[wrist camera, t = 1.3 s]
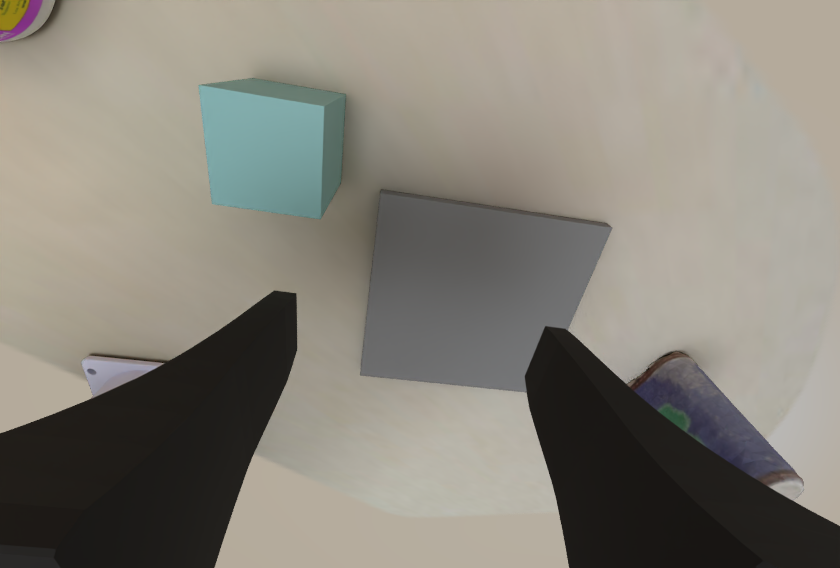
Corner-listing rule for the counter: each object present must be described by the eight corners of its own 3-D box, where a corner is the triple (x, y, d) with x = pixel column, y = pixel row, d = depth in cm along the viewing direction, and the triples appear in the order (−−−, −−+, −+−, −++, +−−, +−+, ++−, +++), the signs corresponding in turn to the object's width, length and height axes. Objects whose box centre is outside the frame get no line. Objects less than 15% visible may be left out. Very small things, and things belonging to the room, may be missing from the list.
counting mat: (537, 387, 26) (539, 393, 26) (361, 368, 25) (360, 375, 25) (607, 223, 20) (612, 227, 20) (381, 189, 19) (380, 193, 19)
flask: (673, 344, 25) (829, 516, 16) (701, 362, 26) (866, 535, 16) (571, 426, 29) (647, 603, 19) (598, 440, 29) (685, 615, 20)
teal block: (341, 182, 19) (320, 219, 15) (257, 170, 19) (212, 203, 14) (346, 94, 17) (324, 106, 13) (253, 77, 17) (198, 85, 12)
